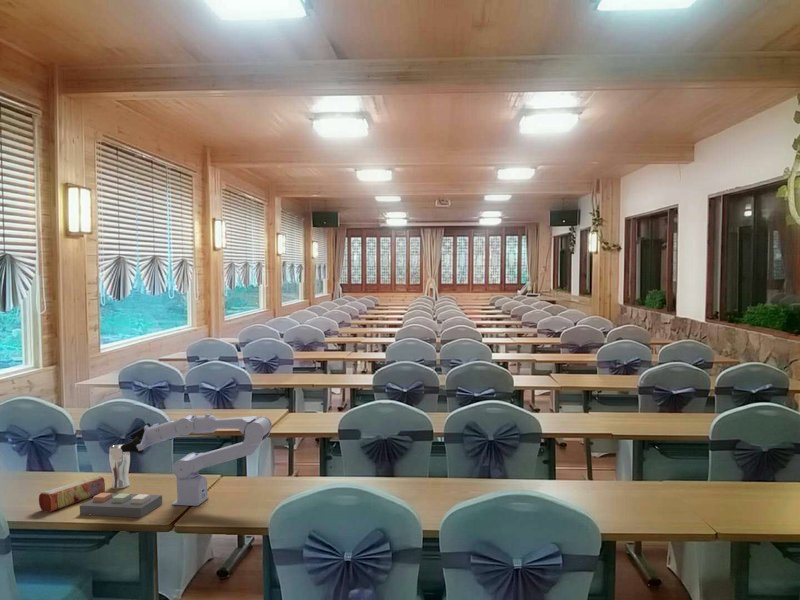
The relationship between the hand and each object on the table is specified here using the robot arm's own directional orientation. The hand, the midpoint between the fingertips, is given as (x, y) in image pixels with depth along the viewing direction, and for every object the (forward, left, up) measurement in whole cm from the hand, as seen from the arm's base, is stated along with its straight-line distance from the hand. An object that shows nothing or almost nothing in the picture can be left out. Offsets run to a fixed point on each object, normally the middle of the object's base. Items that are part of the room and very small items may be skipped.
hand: (127, 443), depth 206 cm
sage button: (-2, +7, -19) cm, 20 cm away
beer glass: (+13, -14, -20) cm, 28 cm away
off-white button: (-9, +7, -19) cm, 22 cm away
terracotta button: (+5, +7, -19) cm, 21 cm away
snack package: (+20, +2, -21) cm, 29 cm away
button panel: (-2, +7, -20) cm, 22 cm away
